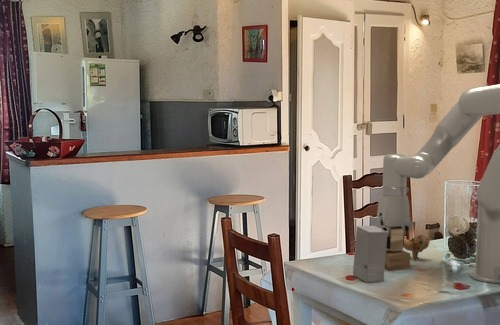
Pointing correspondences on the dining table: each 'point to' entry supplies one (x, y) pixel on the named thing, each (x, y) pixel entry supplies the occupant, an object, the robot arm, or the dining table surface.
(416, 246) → the lion figurine
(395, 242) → the oak block
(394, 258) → the walnut block
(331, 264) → the dining table surface
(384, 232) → the skincare box
